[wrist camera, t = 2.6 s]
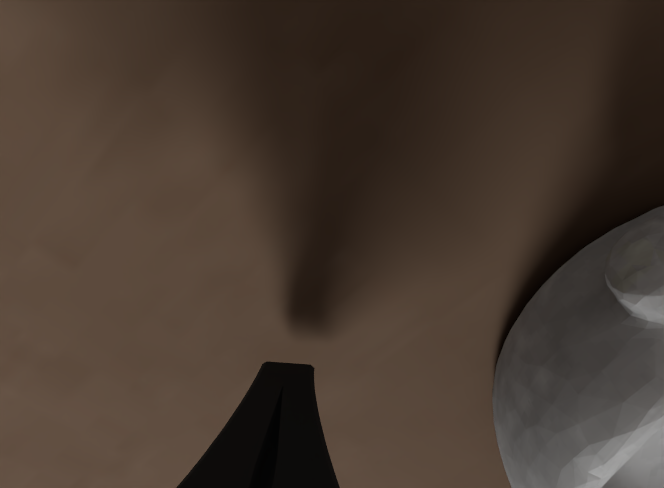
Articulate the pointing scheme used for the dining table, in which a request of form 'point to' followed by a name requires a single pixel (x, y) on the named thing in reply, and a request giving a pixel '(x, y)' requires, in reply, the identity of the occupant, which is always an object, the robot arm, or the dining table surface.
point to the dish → (589, 369)
